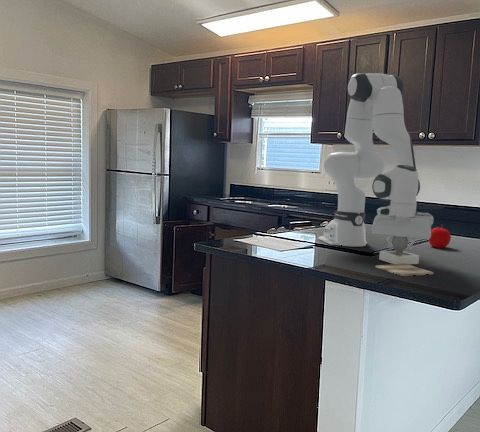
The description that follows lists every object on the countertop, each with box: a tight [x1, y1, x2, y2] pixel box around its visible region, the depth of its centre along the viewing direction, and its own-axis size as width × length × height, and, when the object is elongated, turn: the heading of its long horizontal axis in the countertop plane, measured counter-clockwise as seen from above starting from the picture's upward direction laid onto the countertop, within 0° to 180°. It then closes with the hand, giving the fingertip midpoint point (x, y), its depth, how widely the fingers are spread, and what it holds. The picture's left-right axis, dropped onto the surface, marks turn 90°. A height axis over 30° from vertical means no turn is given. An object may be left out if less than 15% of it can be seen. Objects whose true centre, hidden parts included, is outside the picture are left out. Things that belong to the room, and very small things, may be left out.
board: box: [374, 263, 435, 277], centre depth 159 cm, size 13×13×1 cm
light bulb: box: [391, 236, 409, 256], centre depth 173 cm, size 5×5×10 cm
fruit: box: [427, 224, 452, 249], centre depth 207 cm, size 9×9×10 cm
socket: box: [378, 250, 420, 265], centre depth 173 cm, size 10×10×3 cm
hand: (399, 249), depth 173 cm, fingers closed on light bulb, 5 cm apart
